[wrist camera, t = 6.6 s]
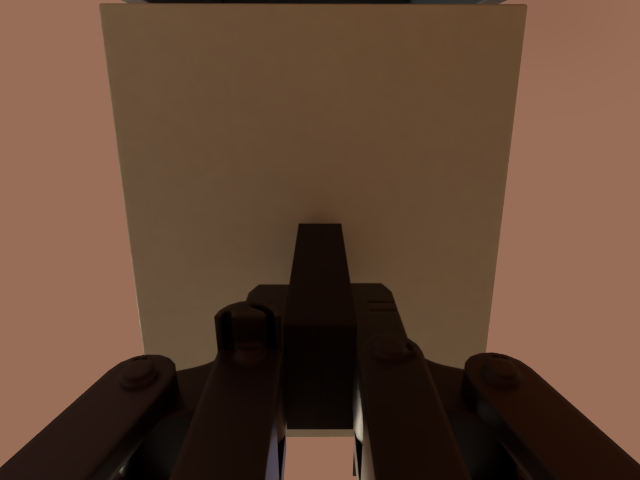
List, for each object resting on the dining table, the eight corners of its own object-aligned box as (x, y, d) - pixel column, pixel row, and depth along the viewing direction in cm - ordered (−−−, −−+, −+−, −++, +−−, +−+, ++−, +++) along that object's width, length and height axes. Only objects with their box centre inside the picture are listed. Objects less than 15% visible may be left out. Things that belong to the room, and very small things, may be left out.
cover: (470, 425, 18) (476, 437, 17) (160, 426, 18) (153, 438, 17) (518, 9, 14) (528, 3, 13) (108, 8, 13) (97, 2, 13)
